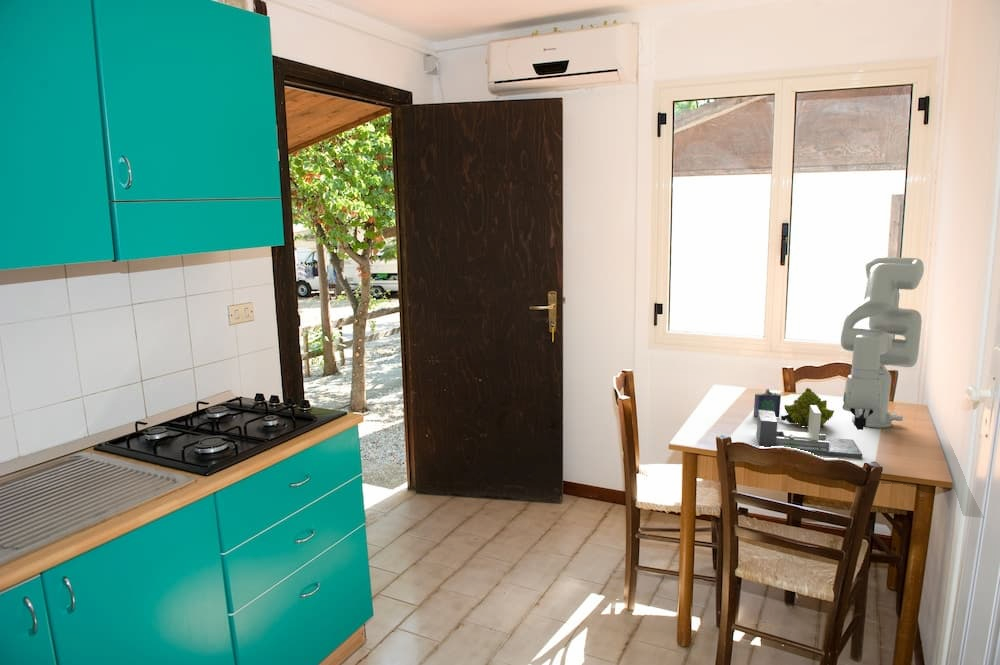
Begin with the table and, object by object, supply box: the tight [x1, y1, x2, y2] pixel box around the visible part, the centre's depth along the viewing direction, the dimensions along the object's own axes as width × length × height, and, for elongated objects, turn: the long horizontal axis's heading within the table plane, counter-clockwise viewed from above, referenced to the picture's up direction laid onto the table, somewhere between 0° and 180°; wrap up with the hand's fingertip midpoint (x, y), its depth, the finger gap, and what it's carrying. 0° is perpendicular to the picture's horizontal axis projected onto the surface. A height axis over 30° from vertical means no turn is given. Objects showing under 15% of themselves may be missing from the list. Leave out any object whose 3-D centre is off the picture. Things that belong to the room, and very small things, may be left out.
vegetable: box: [780, 387, 835, 430], centre depth 237 cm, size 15×16×15 cm
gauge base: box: [755, 410, 863, 460], centre depth 216 cm, size 30×14×10 cm, turn 73°
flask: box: [753, 388, 782, 418], centre depth 247 cm, size 9×3×11 cm, turn 83°
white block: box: [782, 405, 821, 440], centre depth 215 cm, size 10×11×11 cm
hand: (859, 428), depth 212 cm, fingers closed
